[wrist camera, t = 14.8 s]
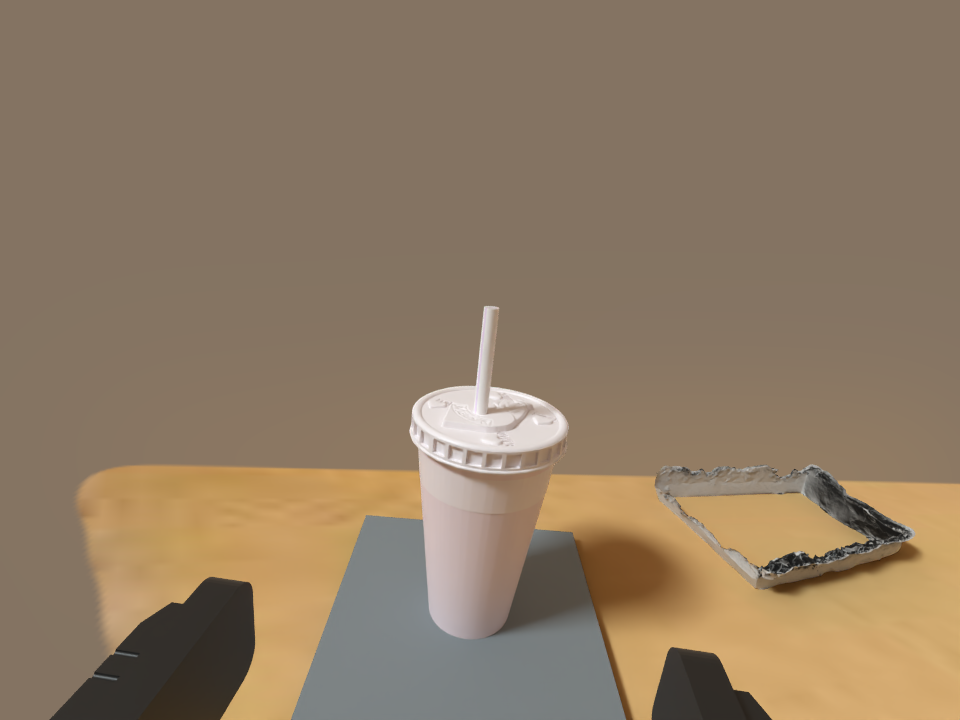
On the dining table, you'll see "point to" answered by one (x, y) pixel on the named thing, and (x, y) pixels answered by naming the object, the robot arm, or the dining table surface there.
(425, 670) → the mat
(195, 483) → the dining table surface
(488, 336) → the smoothie
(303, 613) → the dining table surface
